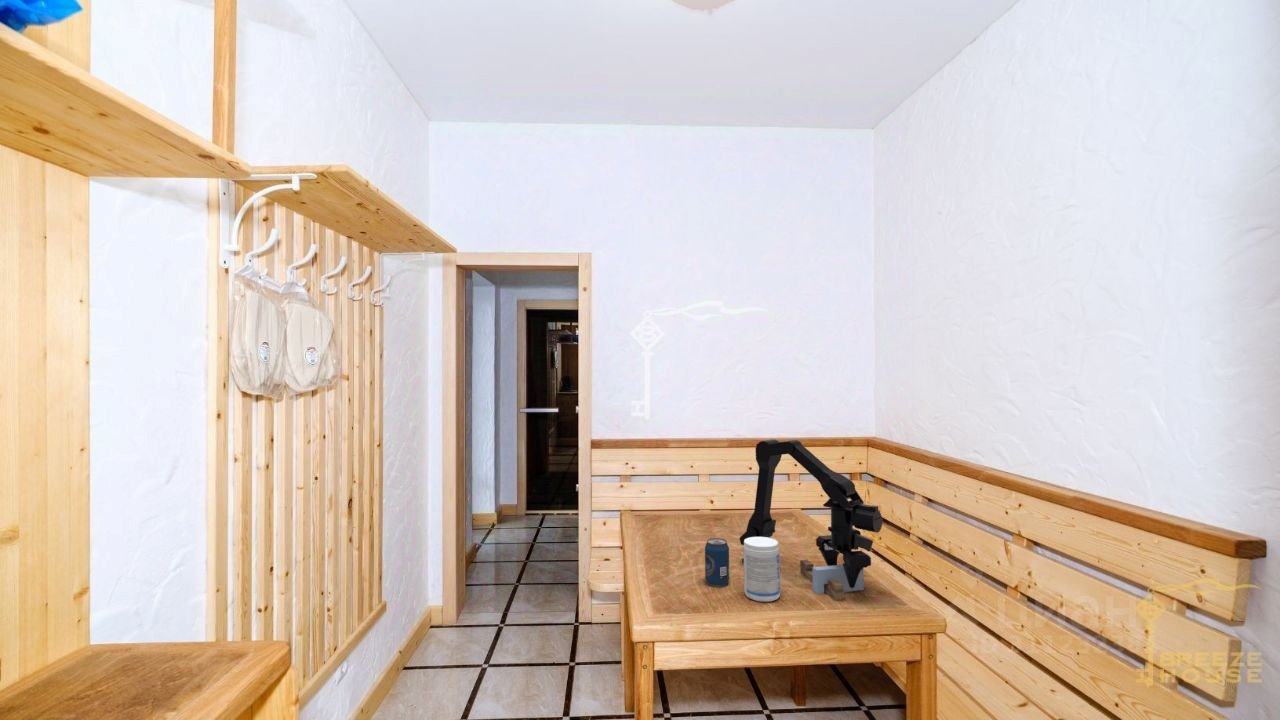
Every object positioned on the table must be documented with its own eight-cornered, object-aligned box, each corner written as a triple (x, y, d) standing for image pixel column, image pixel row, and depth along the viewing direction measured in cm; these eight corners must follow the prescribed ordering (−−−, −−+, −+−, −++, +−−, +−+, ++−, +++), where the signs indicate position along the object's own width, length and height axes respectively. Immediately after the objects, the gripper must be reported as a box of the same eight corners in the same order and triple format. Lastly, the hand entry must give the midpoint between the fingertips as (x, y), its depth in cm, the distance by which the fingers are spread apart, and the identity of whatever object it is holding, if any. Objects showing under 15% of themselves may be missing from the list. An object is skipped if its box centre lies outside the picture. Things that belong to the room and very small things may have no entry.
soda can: (700, 580, 159) (700, 539, 159) (721, 576, 161) (720, 536, 162) (713, 589, 152) (712, 546, 153) (734, 585, 155) (733, 542, 155)
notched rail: (843, 599, 145) (843, 584, 145) (836, 600, 144) (835, 585, 144) (807, 572, 164) (806, 559, 164) (800, 573, 164) (800, 559, 164)
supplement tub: (786, 601, 144) (785, 545, 144) (753, 604, 142) (752, 548, 142) (769, 587, 154) (769, 534, 154) (738, 590, 151) (737, 537, 152)
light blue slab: (817, 594, 149) (816, 570, 149) (812, 590, 151) (812, 567, 151) (863, 590, 151) (863, 566, 151) (858, 586, 153) (858, 563, 154)
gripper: (888, 532, 144) (889, 592, 144) (849, 514, 162) (850, 567, 162) (850, 535, 142) (851, 595, 141) (814, 516, 160) (815, 570, 160)
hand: (842, 581), depth 151 cm, fingers open, 9 cm apart
